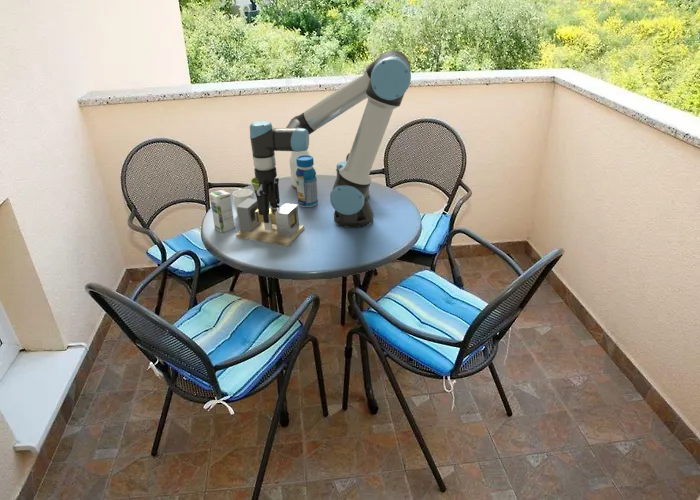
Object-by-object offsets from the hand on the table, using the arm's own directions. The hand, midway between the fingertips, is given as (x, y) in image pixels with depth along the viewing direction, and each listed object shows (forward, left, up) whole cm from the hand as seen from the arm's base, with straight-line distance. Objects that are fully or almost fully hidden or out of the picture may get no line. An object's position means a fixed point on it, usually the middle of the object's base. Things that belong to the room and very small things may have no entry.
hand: (271, 226), depth 188 cm
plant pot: (+18, -27, -3) cm, 33 cm away
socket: (+9, 0, -1) cm, 9 cm away
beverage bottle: (-2, -28, -3) cm, 28 cm away
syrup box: (+19, +2, -3) cm, 20 cm away
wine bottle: (+9, -46, -3) cm, 47 cm away
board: (+1, 0, -3) cm, 3 cm away
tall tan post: (-2, 0, +2) cm, 3 cm away
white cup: (+17, -10, -3) cm, 20 cm away
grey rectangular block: (-7, 0, -1) cm, 7 cm away
